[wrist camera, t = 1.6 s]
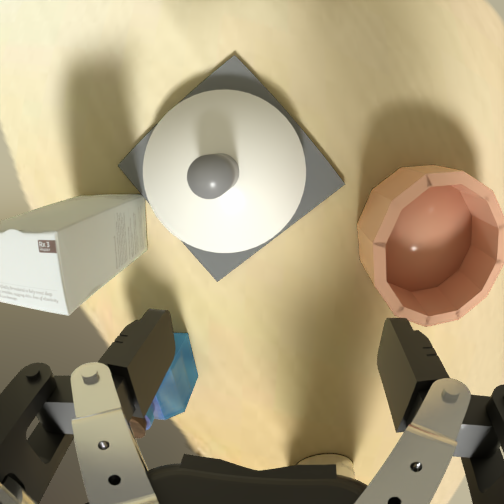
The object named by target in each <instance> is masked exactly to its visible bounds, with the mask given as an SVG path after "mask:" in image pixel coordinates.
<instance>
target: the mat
mask: <svg viewBox="0 0 504 504" xmlns="http://www.w3.org/2000/svg"><path fill="white" fill-rule="evenodd" d="M225 89H228V90H237V91H242V92H246V93H250V94H252V95H255V96H257V97H260V98H261V99H263V100H265V101H267V102H268V103H270V104H271V105H273V106H274V107H275V108H276V109H278V110H279V111H280V112H281V113H282V114H283V115H284V116H285V117H286V118H287V120H288V121H289V122H290V124H291V125H292V126H293V128H294V130H295V132H296V133H297V135H298V137H299V140H300V142H301V145H302V148H303V152H304V156H305V163H306V181H305V187H304V192H303V195H302V198H301V201H300V204H299V206H298V208H297V210H296V212H295V213H294V215H293V216H292V218H291V219H290V221H289V222H288V223H287V224H286V226H285V227H284V228H283V229H282V230H281V231H280V232H279V233H278V234H276V235H275V236H274V237H273V238H271V239H270V240H268V241H267V242H265V243H263V244H261V245H259V246H257V247H254V248H251V249H248V250H245V251H240V252H234V253H215V252H210V251H205V250H201V249H198V248H195V247H193V246H191V245H189V244H186V243H185V242H183V241H182V240H181V241H182V242H183V243H184V245H185V246H186V247H187V248H188V249H189V250H190V252H191V253H192V254H193V255H194V256H195V257H196V258H197V259H198V261H199V262H200V263H201V264H202V265H203V266H204V267H205V268H206V270H207V271H208V272H209V273H210V274H211V275H212V276H213V277H214V279H215V280H216V281H217V282H218V281H219V280H221V279H222V278H223V277H224V276H226V275H227V274H228V273H230V272H231V271H232V270H234V269H235V268H236V267H238V266H239V265H240V264H241V263H243V262H244V261H245V260H247V259H248V258H249V257H251V256H252V255H253V254H255V253H256V252H257V251H259V250H260V249H261V248H262V247H264V246H265V245H266V244H268V243H269V242H270V241H272V240H273V239H274V238H276V237H277V236H278V235H279V234H281V233H282V232H283V231H285V230H286V229H287V228H289V227H290V226H291V225H293V224H294V223H295V222H296V221H298V220H299V219H300V218H302V217H303V216H304V215H306V214H307V213H308V212H310V211H311V210H312V209H313V208H315V207H316V206H317V205H319V204H320V203H321V202H323V201H324V200H325V199H327V198H328V197H329V196H330V195H332V194H333V193H334V192H336V191H337V190H338V189H340V188H341V187H342V186H344V185H345V183H344V182H343V181H342V179H341V178H340V177H339V175H338V174H337V173H336V171H335V170H334V169H333V167H332V166H331V165H330V164H329V162H328V161H327V160H326V158H325V157H324V156H323V155H322V153H321V152H320V151H319V150H318V148H317V147H316V146H315V145H314V143H313V142H312V141H311V140H310V138H309V137H308V136H307V135H306V134H305V132H304V131H303V130H302V129H301V128H300V126H299V125H298V124H297V123H296V122H295V120H294V119H293V118H292V117H291V116H290V115H289V113H288V112H287V111H286V110H285V109H284V108H283V107H282V105H281V104H280V103H279V102H278V101H277V100H276V99H275V98H274V96H273V95H272V94H271V93H270V92H269V91H268V90H267V89H266V88H265V87H264V85H263V84H262V83H261V82H260V81H259V80H258V79H257V78H256V77H255V76H254V75H253V74H252V73H251V72H250V71H249V69H248V68H247V67H246V66H245V65H244V64H243V63H242V62H241V61H240V60H239V59H238V58H237V57H236V56H235V55H234V56H233V57H231V58H230V59H229V60H228V61H226V62H225V63H224V64H223V65H222V66H220V67H219V68H218V69H217V70H216V71H214V72H213V73H212V74H211V75H210V76H208V77H207V78H206V79H205V80H204V81H203V82H202V83H200V84H199V85H198V86H197V87H196V88H195V89H194V90H192V91H191V92H190V93H189V94H188V95H187V96H186V97H185V98H184V99H183V100H185V99H187V98H189V97H191V96H193V95H196V94H199V93H202V92H206V91H212V90H225ZM183 100H181V101H180V102H182V101H183ZM180 102H179V103H180ZM179 103H178V104H179ZM158 123H159V122H158ZM158 123H157V124H158ZM157 124H156V125H155V126H154V127H153V128H152V129H151V130H150V132H149V133H148V134H147V135H146V136H145V137H144V138H143V139H142V140H141V141H140V142H139V143H138V144H137V145H136V146H135V147H134V148H133V149H132V150H131V151H130V152H129V154H128V155H127V156H126V157H125V158H124V159H123V160H122V161H121V162H120V163H119V165H118V166H119V168H120V169H121V170H122V171H123V172H124V174H125V175H126V176H127V177H128V179H129V180H130V181H131V182H132V183H133V185H134V186H135V187H136V188H137V189H138V191H139V192H140V193H141V194H142V195H143V197H144V198H145V199H146V200H147V201H148V198H147V195H146V192H145V188H144V181H143V160H144V154H145V150H146V146H147V144H148V141H149V138H150V136H151V134H152V132H153V130H154V129H155V127H156V126H157ZM148 203H149V201H148ZM149 204H150V203H149Z"/></svg>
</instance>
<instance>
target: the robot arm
mask: <svg viewBox="0 0 504 504" xmlns="http://www.w3.org/2000/svg"><path fill="white" fill-rule="evenodd" d="M174 356H175V340H174V334H173V327H172V321H171V315H170V312H169V311H168V310H158V309H149V310H147V312H146V313H145V314H144V316H143V317H142V318H141V319H140V320H135V321H134V322H132V323H131V324H129V325H127V326H126V327H125V328H124V329H123V331H122V332H121V333H120V336H118V337H117V338H116V339H115V342H113V343H112V344H111V346H110V347H109V348H108V349H107V351H106V352H105V353H104V355H103V356H102V357H101V358H100V360H99V361H98V362H93V363H87V364H84V365H81V366H80V367H78V368H77V369H76V370H74V372H73V373H72V375H71V376H53V373H52V371H51V369H50V367H49V366H48V365H46V364H44V363H33V364H30V365H28V366H26V367H24V368H23V369H22V370H21V371H20V372H19V373H18V374H17V375H16V377H14V379H13V380H12V381H11V382H10V383H9V384H8V386H7V387H6V388H5V389H4V390H3V392H2V393H1V394H0V504H39V503H40V501H41V499H42V497H43V494H44V493H45V491H46V489H47V487H48V485H49V483H50V481H51V479H52V477H53V475H54V473H55V471H56V470H57V468H58V466H59V464H60V462H61V460H62V458H63V456H64V455H65V453H66V451H67V449H68V447H69V446H70V444H71V442H72V440H73V438H74V440H75V445H76V450H77V455H78V460H79V464H80V469H81V473H82V477H83V481H84V485H85V489H86V493H87V496H88V500H89V502H88V503H86V504H430V502H431V500H432V498H433V496H434V494H435V492H436V490H437V488H438V486H439V484H440V482H441V480H442V478H443V476H444V474H445V472H446V469H447V467H448V465H449V463H450V460H451V458H452V456H456V457H461V460H462V464H463V467H464V471H465V474H466V478H467V482H468V486H469V490H470V494H471V498H472V502H473V504H504V459H503V456H502V454H501V451H500V446H501V447H502V449H503V452H504V385H500V386H498V387H496V388H495V389H494V391H493V393H492V395H491V397H488V396H478V395H471V394H470V391H469V389H468V388H467V386H466V385H465V384H463V383H462V382H460V381H458V380H455V379H451V378H450V377H449V375H448V374H447V372H446V370H445V368H444V366H443V364H442V362H441V361H440V359H439V357H438V356H437V353H436V351H435V350H434V348H433V346H432V344H431V343H430V341H429V339H428V338H427V337H426V336H425V335H424V334H422V333H421V332H420V331H419V330H416V331H413V329H412V327H411V325H410V323H409V321H408V320H407V318H387V319H386V320H385V323H384V327H383V332H382V337H381V341H380V346H379V350H378V356H377V365H378V370H379V373H380V377H381V380H382V383H383V387H384V390H385V393H386V397H387V400H388V404H389V408H390V411H391V415H392V419H393V422H394V426H395V430H396V433H397V432H404V433H403V435H402V436H401V438H400V440H399V441H398V443H397V444H396V446H395V448H394V449H393V451H392V452H391V454H390V455H389V457H388V458H387V460H386V461H385V463H384V464H383V466H382V467H381V468H380V470H379V471H378V473H377V474H376V476H375V477H374V478H373V480H372V481H371V482H370V484H369V485H368V486H367V485H366V484H364V483H362V482H360V481H358V480H356V479H355V478H354V470H353V463H352V461H351V460H350V459H349V458H347V457H345V456H342V455H337V454H321V455H315V456H312V457H309V458H306V459H304V460H302V461H300V462H299V463H298V464H297V465H294V466H288V467H282V468H276V469H269V470H262V471H257V470H252V469H249V468H246V467H242V466H239V465H236V464H233V463H230V462H227V461H224V460H221V459H214V458H207V457H200V456H193V455H187V454H184V456H183V459H182V462H181V464H170V465H164V466H160V467H157V468H153V469H151V470H148V468H147V466H146V463H145V461H144V459H143V456H142V454H141V451H140V449H139V446H138V444H137V442H136V439H135V436H134V434H133V431H132V428H131V426H130V423H129V421H130V419H131V418H132V416H134V417H139V418H143V419H144V417H145V415H146V413H147V411H148V409H149V407H150V405H151V403H152V401H153V399H154V397H155V395H156V393H157V391H158V389H159V387H160V385H161V383H162V381H163V379H164V377H165V375H166V373H167V371H168V369H169V367H170V365H171V363H172V361H173V359H174ZM35 416H37V418H38V420H39V421H40V422H39V423H38V425H37V426H36V428H35V429H34V431H33V433H32V434H31V435H30V437H29V438H28V440H26V431H27V428H28V427H29V425H30V424H31V422H32V421H33V419H34V418H35Z"/></svg>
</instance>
